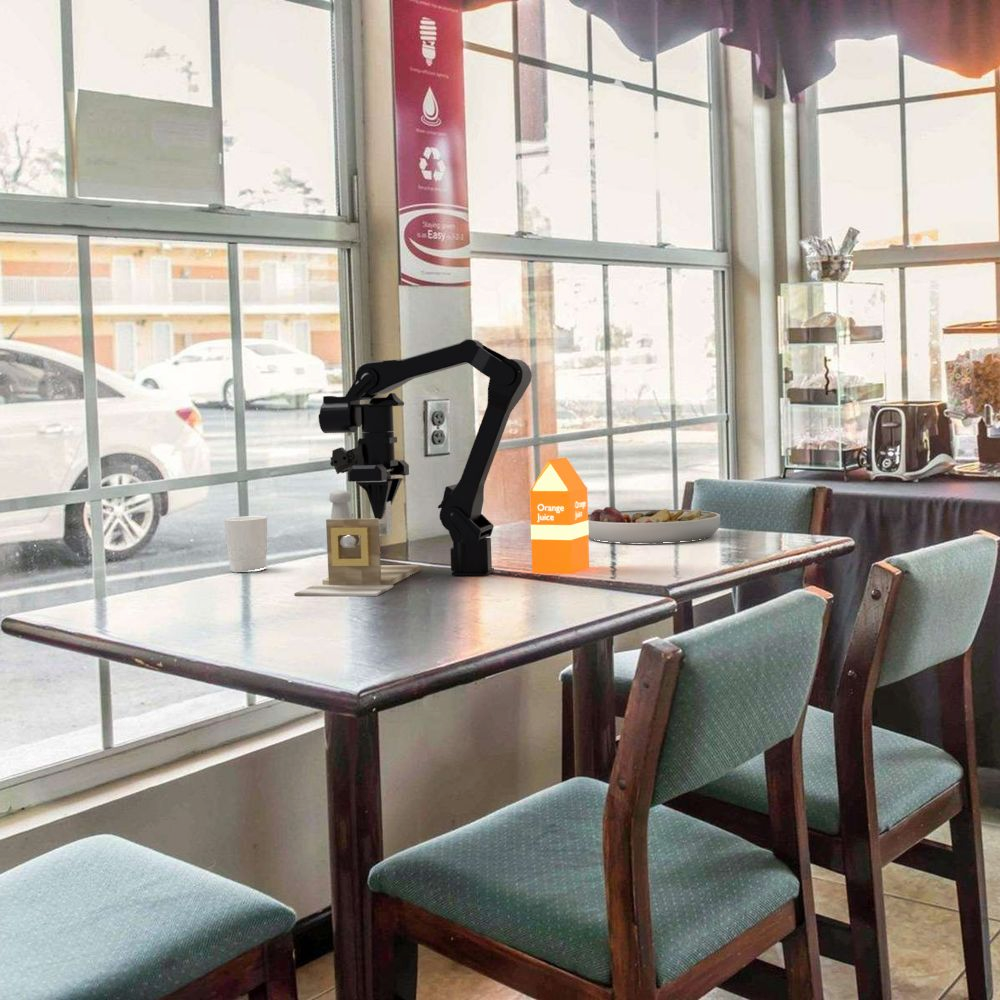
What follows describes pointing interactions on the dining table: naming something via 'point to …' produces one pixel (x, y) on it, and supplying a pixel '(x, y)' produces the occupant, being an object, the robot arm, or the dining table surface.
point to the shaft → (384, 527)
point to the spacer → (336, 546)
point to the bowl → (651, 525)
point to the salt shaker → (340, 505)
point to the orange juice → (559, 520)
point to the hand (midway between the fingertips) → (381, 518)
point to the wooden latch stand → (358, 567)
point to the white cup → (246, 542)
